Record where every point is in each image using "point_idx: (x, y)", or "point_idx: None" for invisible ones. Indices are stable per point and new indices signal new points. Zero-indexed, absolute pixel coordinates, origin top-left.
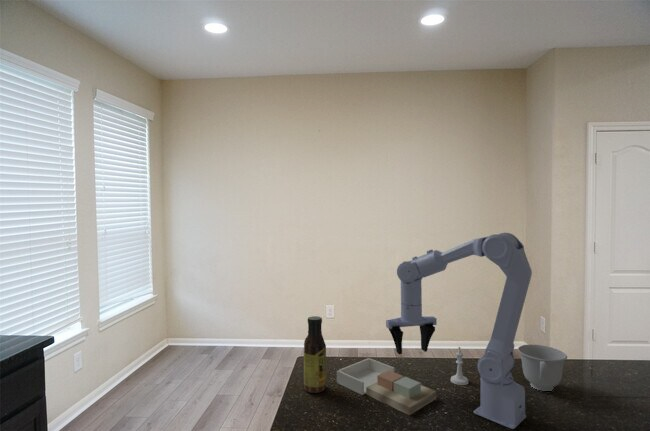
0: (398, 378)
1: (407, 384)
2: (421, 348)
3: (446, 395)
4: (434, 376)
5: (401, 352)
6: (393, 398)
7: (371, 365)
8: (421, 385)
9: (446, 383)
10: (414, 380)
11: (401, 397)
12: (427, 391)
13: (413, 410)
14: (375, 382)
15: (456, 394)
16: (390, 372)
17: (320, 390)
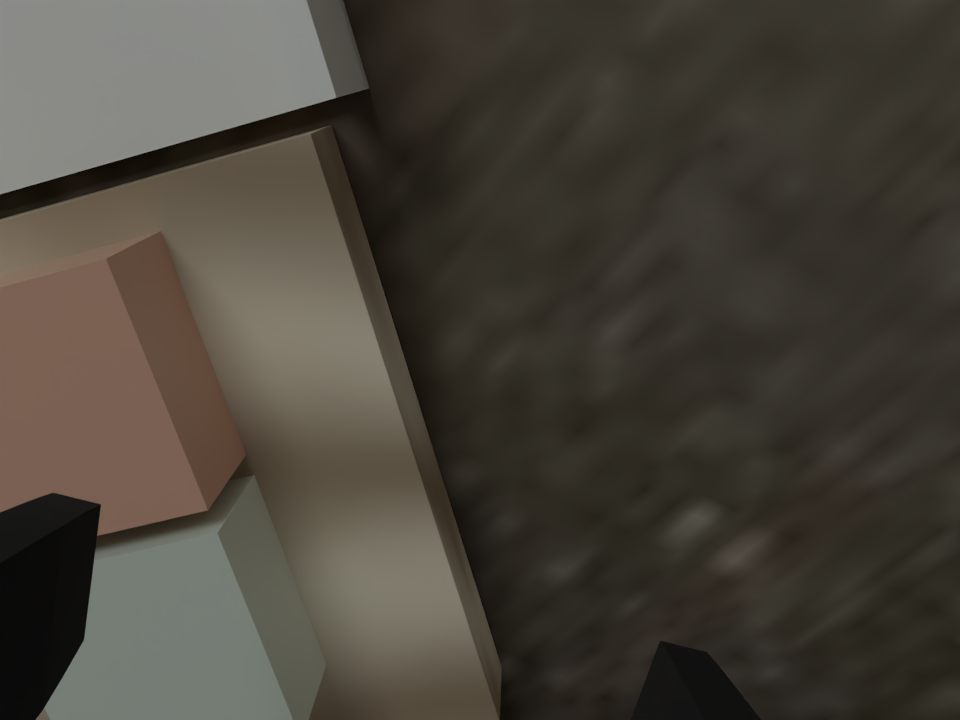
0: (103, 532)
1: (121, 702)
2: (665, 649)
3: (648, 665)
4: (927, 273)
5: (53, 672)
6: None
7: None
8: (442, 561)
9: (885, 484)
10: (269, 667)
11: None
12: (405, 686)
13: None
14: (49, 75)
15: (756, 696)
16: (90, 335)
17: None
